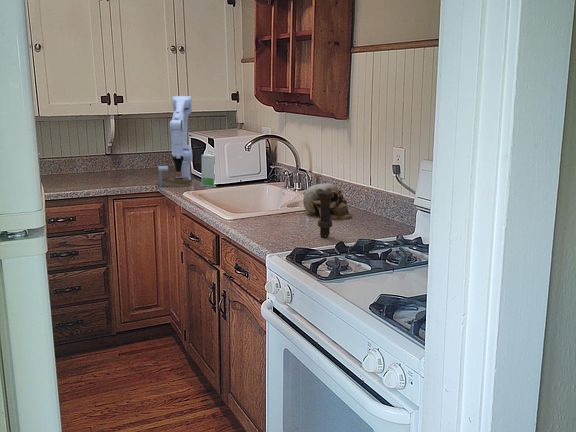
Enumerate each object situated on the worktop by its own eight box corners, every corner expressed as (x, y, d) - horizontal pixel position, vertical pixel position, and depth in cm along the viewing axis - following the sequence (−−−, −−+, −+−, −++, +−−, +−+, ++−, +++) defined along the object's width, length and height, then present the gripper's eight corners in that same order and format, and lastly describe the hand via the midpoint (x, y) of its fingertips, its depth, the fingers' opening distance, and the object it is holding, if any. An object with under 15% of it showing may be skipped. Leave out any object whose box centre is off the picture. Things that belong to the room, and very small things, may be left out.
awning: (159, 183, 305) (158, 166, 303) (168, 183, 306) (167, 165, 304) (159, 187, 295) (158, 168, 293) (169, 186, 296) (168, 168, 294)
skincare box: (201, 186, 298) (200, 154, 294) (208, 184, 303) (208, 153, 300) (215, 187, 294) (214, 155, 291) (222, 185, 300) (222, 154, 296)
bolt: (313, 237, 196) (314, 192, 193) (318, 234, 200) (319, 190, 197) (331, 239, 194) (331, 193, 191) (335, 235, 198) (336, 191, 195)
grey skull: (353, 219, 223) (349, 183, 221) (307, 224, 223) (303, 188, 221) (347, 212, 239) (344, 178, 236) (303, 216, 238) (300, 183, 236)
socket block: (162, 183, 305) (162, 177, 304) (188, 182, 308) (188, 177, 307) (162, 186, 296) (162, 180, 295) (189, 185, 298) (189, 179, 298)
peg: (175, 175, 302) (175, 160, 300) (181, 175, 303) (181, 159, 301) (176, 176, 299) (175, 160, 298) (182, 176, 300) (181, 160, 298)
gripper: (186, 145, 292) (187, 172, 294) (184, 142, 305) (185, 169, 308) (171, 145, 290) (172, 173, 293) (170, 142, 304) (171, 169, 307)
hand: (178, 171), depth 300 cm, fingers closed on peg, 3 cm apart
